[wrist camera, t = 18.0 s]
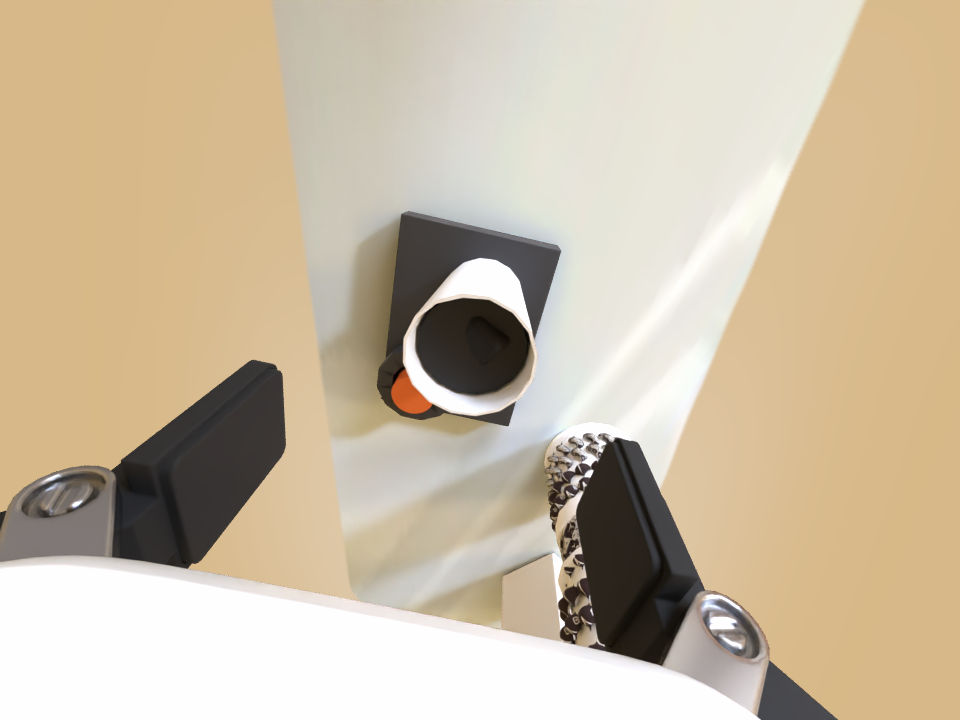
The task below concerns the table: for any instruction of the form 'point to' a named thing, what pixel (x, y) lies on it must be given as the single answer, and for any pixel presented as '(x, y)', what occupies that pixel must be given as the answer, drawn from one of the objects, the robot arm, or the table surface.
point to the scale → (426, 265)
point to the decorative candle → (574, 521)
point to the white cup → (472, 341)
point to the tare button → (408, 395)
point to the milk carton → (533, 599)
